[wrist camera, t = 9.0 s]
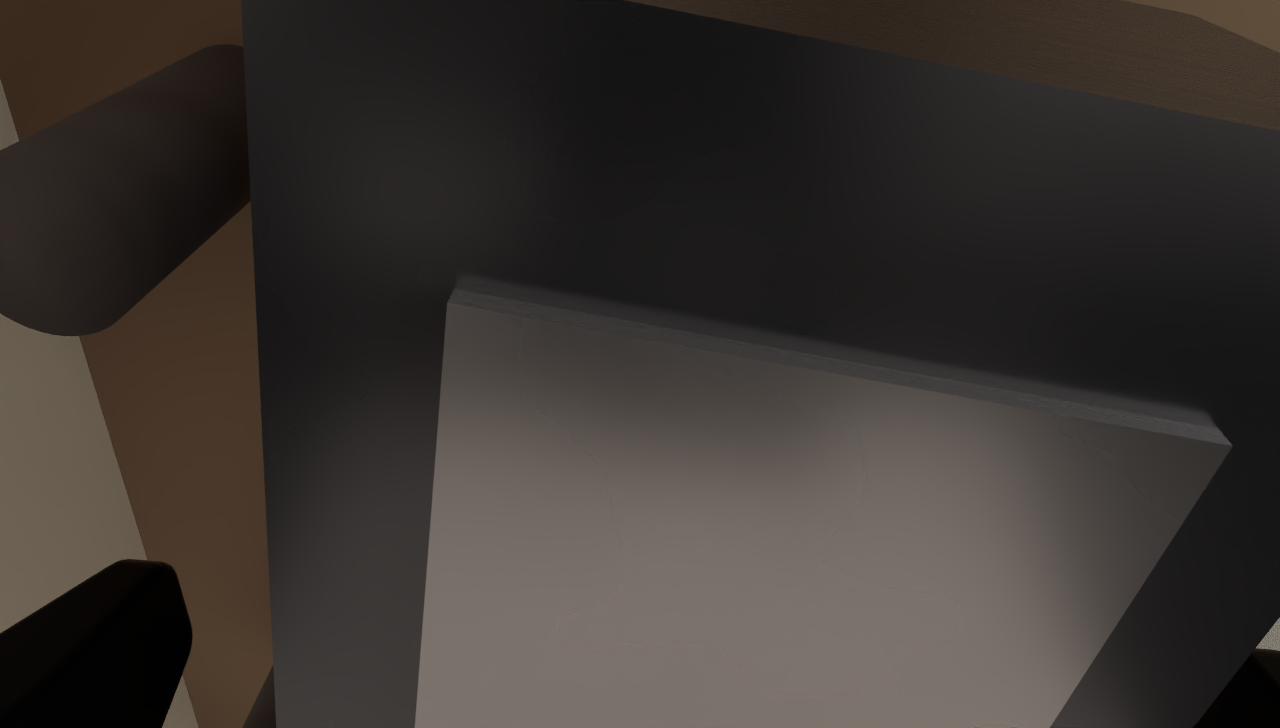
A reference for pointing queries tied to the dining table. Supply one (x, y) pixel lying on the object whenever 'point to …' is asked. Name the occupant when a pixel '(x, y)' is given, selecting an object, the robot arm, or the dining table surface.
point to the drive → (763, 361)
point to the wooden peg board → (181, 283)
